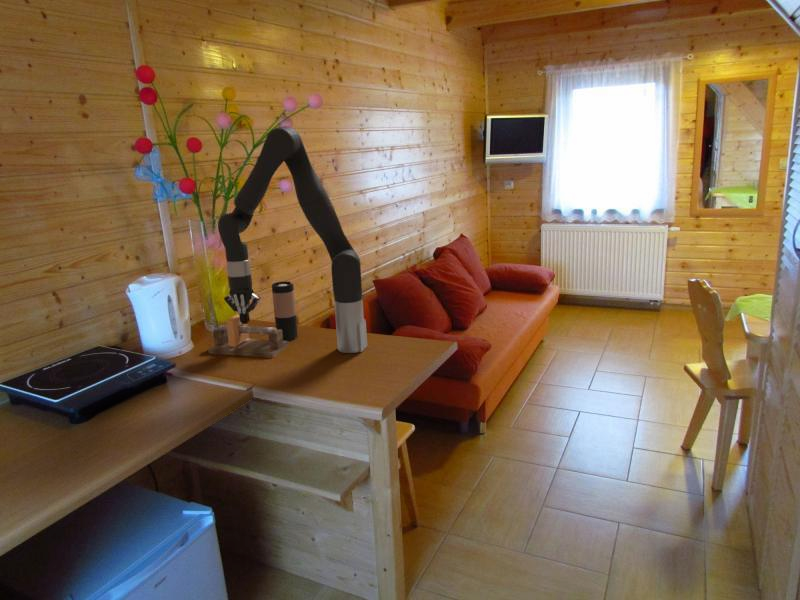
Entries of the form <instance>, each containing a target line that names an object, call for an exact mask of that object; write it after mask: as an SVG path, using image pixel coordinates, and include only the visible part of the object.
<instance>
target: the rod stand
mask: <svg viewBox="0 0 800 600" xmlns="http://www.w3.org/2000/svg"><path fill="white" fill-rule="evenodd" d="M212 332H213V341H214V342H213V343H214V345H213V346H211V347H209V348H207V349H208V354H211V355H224V356H225V355H228V356H240V357H241V356H242V357H259V358H272V359H273V358H274V357H276V356H277V355H278V354H280V353H281V352H282V351H283V350H285V349H286V348H287V347H290V341H283V334H282V330H280V329H276V327H270V326H269V327H268V326H266V327H265V326H249V325H248V326H238V332H239V333H249V335H250V334H253V335H268V339H260V338H259V339H258V338H250V337H249V338H248V339H246V340H245V341H243V342H242V343H240V344H239V345H237V346H229V340H228V332H227V325H226V324H219V325H218V327H216V328H213V330H212Z"/></svg>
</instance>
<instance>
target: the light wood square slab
mask: <svg viewBox="0 0 800 600" xmlns="http://www.w3.org/2000/svg"><path fill="white" fill-rule="evenodd" d="M225 325H227V332H228V340H229V346H237V345H239V344H240V343H242V342H243V341H245V340H246V339H248V338H250V333H239V332H238V326H249V322H248V323H247V324H242V323H241V322H240V316H239V313H237V314H236V315H233V316H232V317H230V318H228V319H226V320H225Z"/></svg>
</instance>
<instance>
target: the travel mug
mask: <svg viewBox="0 0 800 600" xmlns="http://www.w3.org/2000/svg"><path fill="white" fill-rule="evenodd" d="M294 289H295V287H294V283H291V281H277V282H274V283H272V284H271V293H272V303H273V314H274V320H275V321H274V322H275V323H274V324H275V328H276V329H280V330H282V334H283V341H289V342H290V341H293V340H296V339H297V338H298V336H299V335H298V320H297V317H298V316H297V309H296V308H297V306H296V299H295V298H296V297H295V290H294Z"/></svg>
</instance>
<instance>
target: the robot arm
mask: <svg viewBox="0 0 800 600" xmlns="http://www.w3.org/2000/svg"><path fill="white" fill-rule="evenodd" d="M309 158H310V157H309V156H308V153H307V150H306V148H305V145H304V143H303V140H302V137H301V136H300V134H299V132H298V131H297V130H296V129H295V128H293V127H291V126H287V125H286V126H279V127H275V128H273V129H271V130H270V131H269V132H268V133H267V136H266V138H265V140H264V142H263V145H262V148H261V150H260V153H259V156H258V158H257V160H256V162H255V164H254V166H253V168H252V170H251V172H250V173H249V175H248V176H247V179H246V180H245V182H244V183H243V184H242V187H240V190H239V191H238V193H237V195H236V196H235V198H234V202H233V203H234V206H235V207H234V209H233V210H232V212H229V213H228V212H227V213H225V214H223V215H221V216H220V217H219V219H218V222H217V231H218V234H219V237H220V240H221V242H222V245H223V247H224V251H225V259H226V274H227V280H228V281H227V282H228V288H229V291H228V294H227V295H226V296H225V297H223V299H224V301H225V302H226V303H227V304H228V306H229V307H230V309H232V311H233V312H237V314H239V316H240V322H241V323H242V324H247V323H248V324H249V322H250V320H251V319H250V312H252V311H254V310H255V308H256V307H257V305H258V304H259V302H260V300H261V296H259V295H258V296H257V295H256V294H255V291H254V289H253V281H252V280H253V279H252V270H251V263H250V259H249V253H248V245H247V243H246V242H244V241H242V239H241V236H240V234H241V233H244V232H245V231H246V230H247V229H248V227H249V226H250V224H251V222H252V220H253V216H254V213H255V211H256V210H257V208H258V206H259V205H260V204H261V202H262V200H263V199H264V196H265V195H266V193H267V191H268V188H269V186H270V183H271V180H272V178H273V176H274V175H275V173H276V171H277V170H278V169H279V168H280V166H281V165H282V164H283V163H284V164H285V165H286V167H287V168H288V170H289V173H290V174H291V177H292V178H291V179H292V181H293V185H294V190H295V194H296V198H297V202H298V204H299V206H300V208H301V210H302V213H303V215H304V216H305V218H306V220H307V221H308V223H309V225H310V226H311V227H312V229H313V230H314V232H316V235H318V237H319V238H320V239H321V241H322V242H323V244H324V246H325V248H326V251H327V253H328V255H329V258H330V260H331V266H330V267H331V279H332V280H331V282H332V293H333V298H334V301H333V302H334V312H335V313H334V316H335V328H336V340H337V341H336V342H337V351H338V352H339V353H343V354H356V353H362V352H364V350H365V349H366V348H367V347H368V337H367V336H368V335H367V323H366V322H367V320H366V319H365V318H364V304H363V303H364V302H363V286H362V271H361V269H362V268H361V260H360V256H359V255H358V254H357V252H356V251H355V249H354V247H353V246H352V245H351V243H350V241H349V239H348V237H347V235H346V234H345V232H344V230H343V227H342V224H341V222H340V220H339V217H338V215H337V212H336V210H335V208H334V205H333V203H332V202H331V199H330V197H329V196H328V193H327V192H326V190H325V188H324V186H323V184H322V182H321V181H320V178H319V176H318V174H317V172H316V170H315V169H314V167H313V165H312V163H311V161H310V159H309Z"/></svg>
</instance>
